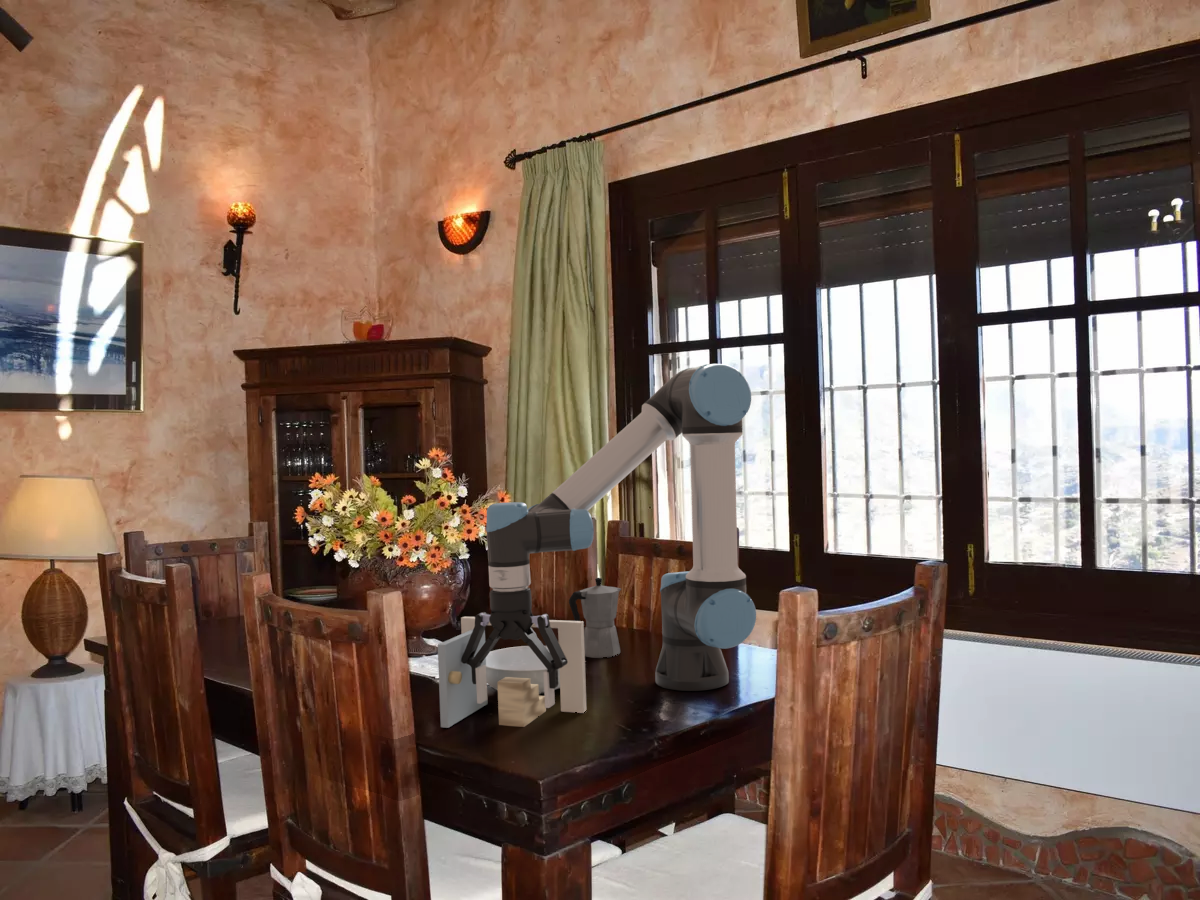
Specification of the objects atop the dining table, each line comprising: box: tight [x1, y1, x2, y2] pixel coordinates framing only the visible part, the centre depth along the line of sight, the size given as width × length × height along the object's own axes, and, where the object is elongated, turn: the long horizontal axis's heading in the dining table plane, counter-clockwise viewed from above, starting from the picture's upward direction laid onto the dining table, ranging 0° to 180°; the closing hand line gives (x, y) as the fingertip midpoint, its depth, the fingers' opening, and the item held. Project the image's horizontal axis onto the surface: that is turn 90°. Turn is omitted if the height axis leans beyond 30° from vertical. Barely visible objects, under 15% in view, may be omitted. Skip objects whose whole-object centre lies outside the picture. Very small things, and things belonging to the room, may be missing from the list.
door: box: [437, 629, 488, 729], centre depth 183 cm, size 16×3×15 cm, turn 160°
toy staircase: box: [497, 677, 547, 728], centre depth 181 cm, size 10×5×8 cm, turn 160°
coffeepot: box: [568, 577, 622, 659], centre depth 230 cm, size 15×9×18 cm, turn 129°
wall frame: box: [460, 616, 587, 714], centre depth 188 cm, size 25×2×17 cm, turn 70°
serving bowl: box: [486, 645, 560, 695], centre depth 201 cm, size 21×21×7 cm
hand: (515, 703), depth 178 cm, fingers open, 13 cm apart
